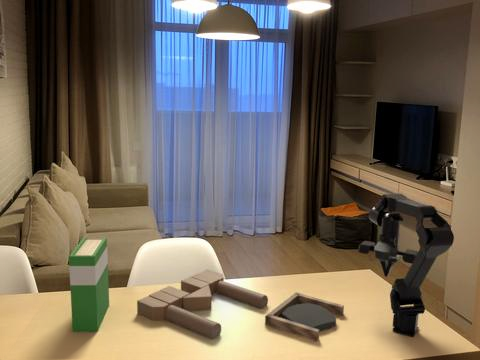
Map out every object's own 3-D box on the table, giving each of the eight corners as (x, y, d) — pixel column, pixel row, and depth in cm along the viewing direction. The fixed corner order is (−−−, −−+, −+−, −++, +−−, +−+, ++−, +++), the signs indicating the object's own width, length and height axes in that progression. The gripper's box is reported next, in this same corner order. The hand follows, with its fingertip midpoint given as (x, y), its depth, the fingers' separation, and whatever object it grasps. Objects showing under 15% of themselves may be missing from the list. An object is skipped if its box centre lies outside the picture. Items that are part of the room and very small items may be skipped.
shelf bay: (343, 313, 165) (343, 305, 165) (316, 341, 148) (317, 331, 147) (295, 300, 174) (295, 292, 174) (265, 324, 157) (265, 315, 156)
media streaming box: (303, 337, 150) (303, 328, 150) (276, 317, 163) (277, 308, 162) (341, 326, 157) (341, 317, 157) (312, 307, 170) (313, 299, 169)
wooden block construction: (137, 315, 162) (205, 345, 145) (136, 299, 161) (206, 328, 144) (207, 282, 190) (272, 304, 173) (207, 268, 189) (272, 289, 172)
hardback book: (86, 305, 167) (83, 237, 163) (109, 305, 168) (106, 237, 163) (72, 332, 150) (68, 256, 145) (97, 331, 151) (94, 256, 146)
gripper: (353, 232, 162) (350, 277, 165) (412, 243, 152) (408, 291, 155) (365, 224, 171) (362, 267, 174) (421, 234, 161) (417, 279, 164)
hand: (386, 276), depth 166 cm, fingers closed
